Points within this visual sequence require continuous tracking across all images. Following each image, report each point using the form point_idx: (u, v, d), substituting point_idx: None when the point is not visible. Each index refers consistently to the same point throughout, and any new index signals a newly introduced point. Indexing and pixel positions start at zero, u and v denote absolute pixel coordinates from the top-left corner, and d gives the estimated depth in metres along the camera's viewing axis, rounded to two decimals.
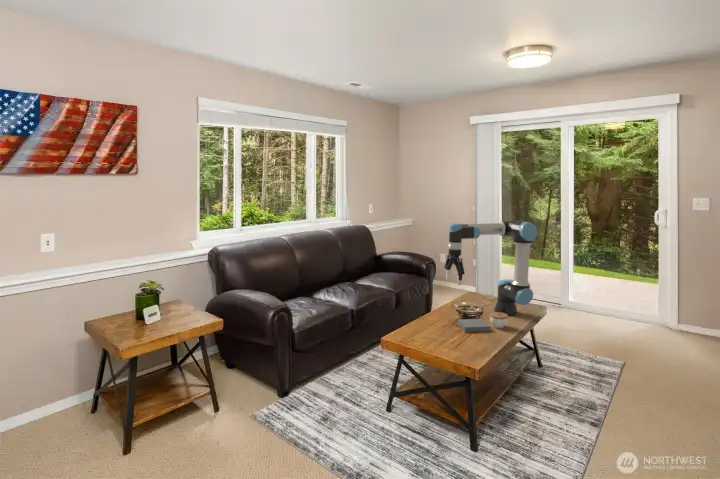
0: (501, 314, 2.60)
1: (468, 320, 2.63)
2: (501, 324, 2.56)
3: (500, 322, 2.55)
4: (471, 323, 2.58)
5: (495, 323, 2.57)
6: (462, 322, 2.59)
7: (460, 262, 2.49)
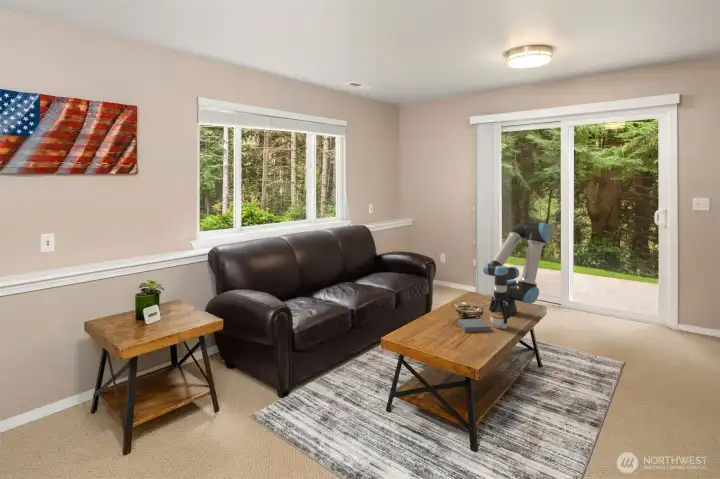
0: (501, 314, 2.60)
1: (468, 320, 2.63)
2: (501, 324, 2.55)
3: (500, 322, 2.55)
4: (471, 323, 2.58)
5: (495, 323, 2.57)
6: (462, 322, 2.59)
7: (506, 306, 2.52)
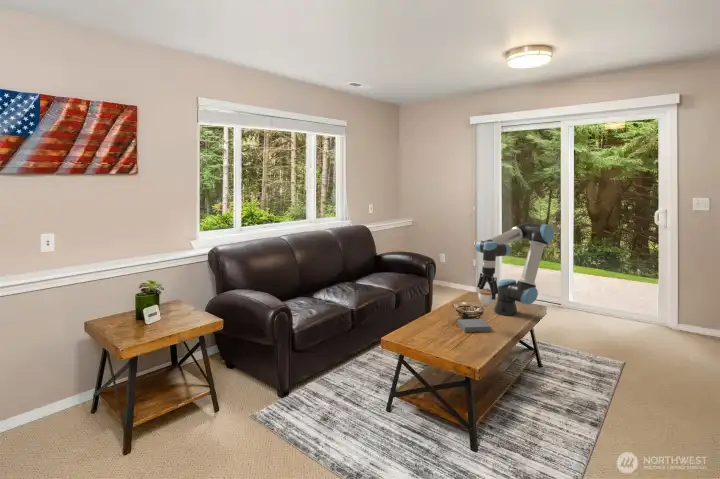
0: (489, 290, 2.56)
1: (468, 320, 2.63)
2: (489, 300, 2.52)
3: (488, 298, 2.52)
4: (471, 323, 2.58)
5: (483, 300, 2.53)
6: (462, 322, 2.59)
7: (494, 281, 2.49)
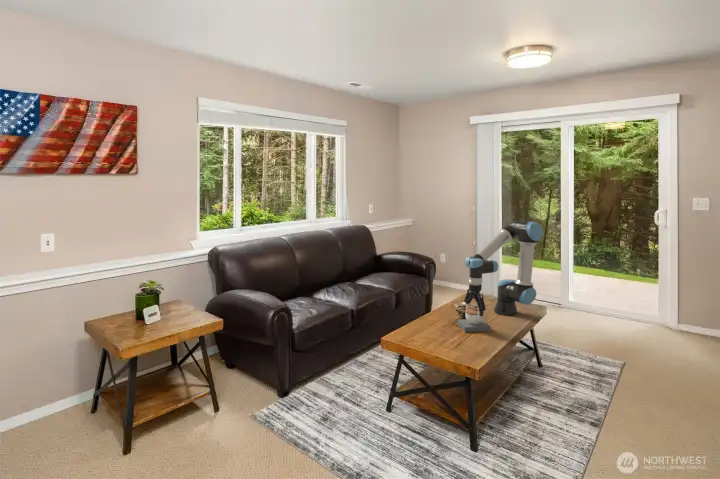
0: (476, 310, 2.58)
1: None
2: (476, 320, 2.53)
3: (475, 318, 2.53)
4: None
5: (470, 319, 2.55)
6: (462, 322, 2.59)
7: (481, 298, 2.49)
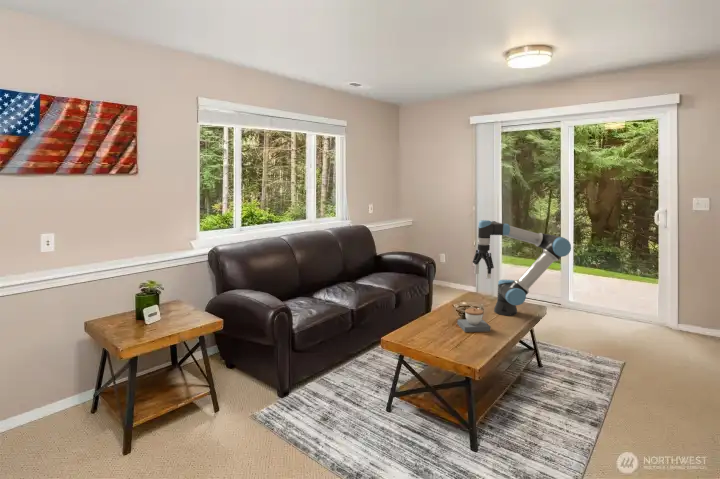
0: (476, 310, 2.58)
1: None
2: (476, 320, 2.53)
3: (475, 318, 2.53)
4: None
5: (470, 319, 2.55)
6: (462, 322, 2.59)
7: (489, 257, 2.63)
